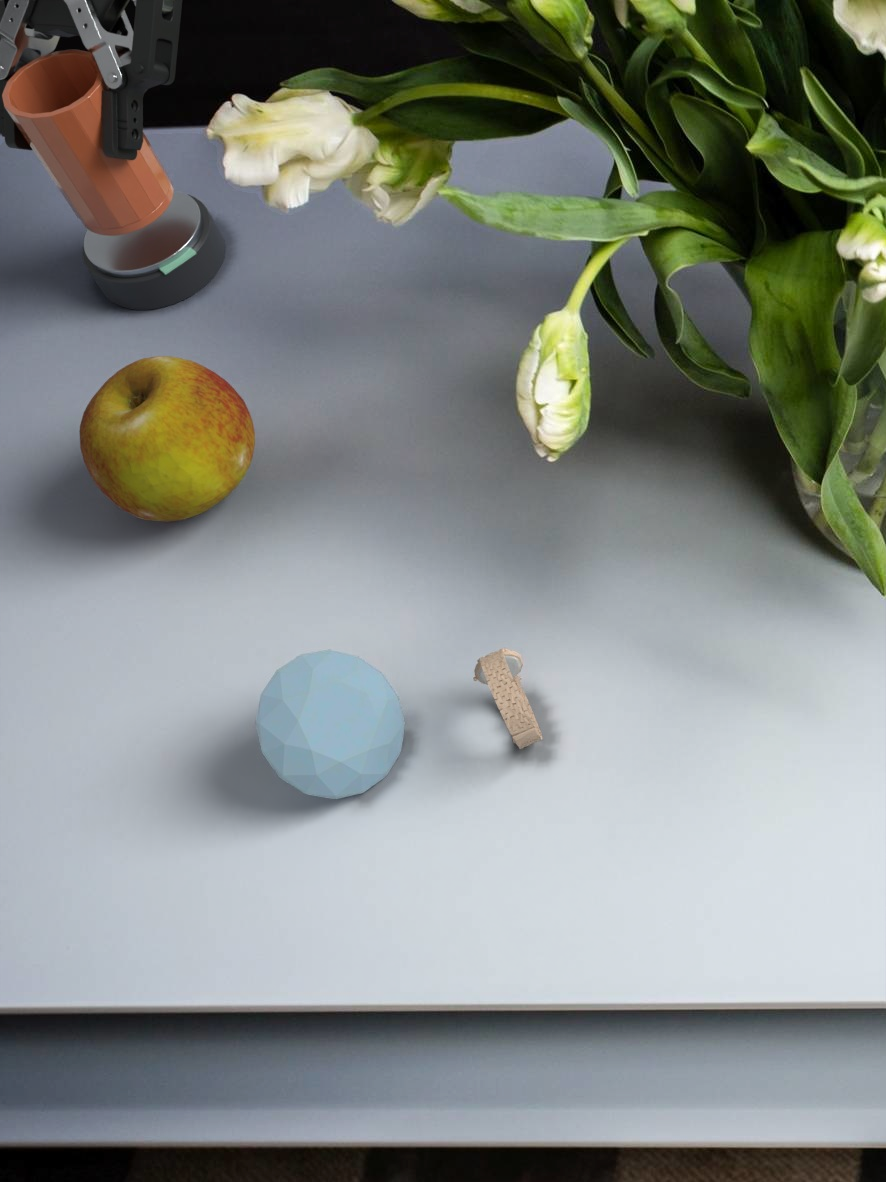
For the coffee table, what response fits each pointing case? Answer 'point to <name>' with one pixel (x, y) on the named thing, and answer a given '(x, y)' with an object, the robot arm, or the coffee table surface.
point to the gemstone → (330, 724)
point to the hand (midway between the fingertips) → (71, 152)
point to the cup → (84, 144)
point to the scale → (158, 257)
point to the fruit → (166, 438)
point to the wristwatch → (509, 694)
